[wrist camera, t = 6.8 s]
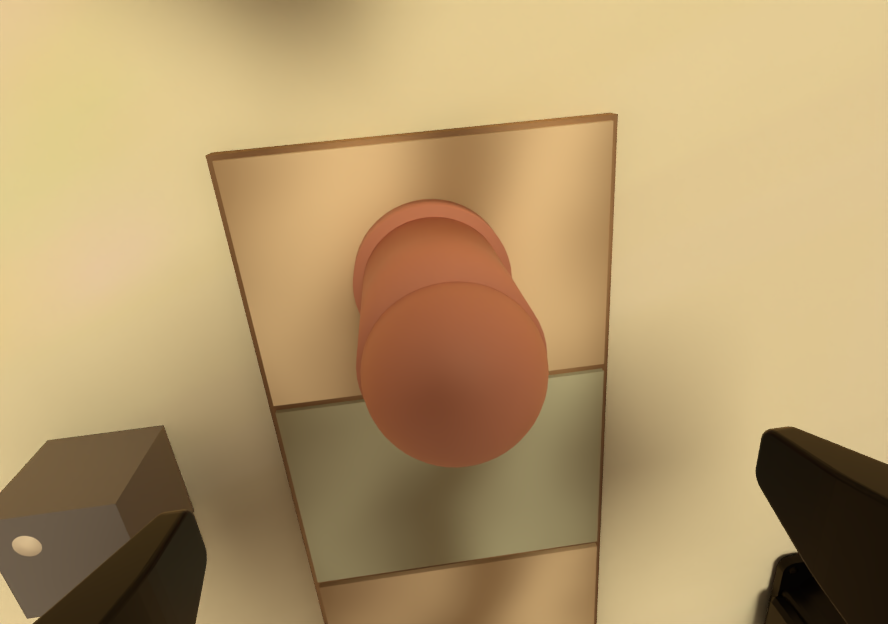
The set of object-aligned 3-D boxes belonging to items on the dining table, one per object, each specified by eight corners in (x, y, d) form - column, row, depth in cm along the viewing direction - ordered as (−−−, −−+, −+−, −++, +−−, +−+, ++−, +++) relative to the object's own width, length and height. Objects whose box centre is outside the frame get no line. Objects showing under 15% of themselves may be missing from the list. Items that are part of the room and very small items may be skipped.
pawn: (501, 191, 17) (599, 288, 9) (507, 332, 19) (592, 507, 11) (343, 208, 16) (311, 323, 9) (366, 350, 18) (355, 541, 11)
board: (609, 112, 17) (620, 114, 16) (590, 657, 27) (596, 673, 27) (211, 152, 16) (203, 156, 15) (347, 696, 27) (346, 714, 26)
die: (164, 423, 20) (114, 504, 16) (194, 509, 21) (156, 599, 18) (48, 438, 20) (-28, 523, 16) (88, 524, 21) (26, 618, 17)
